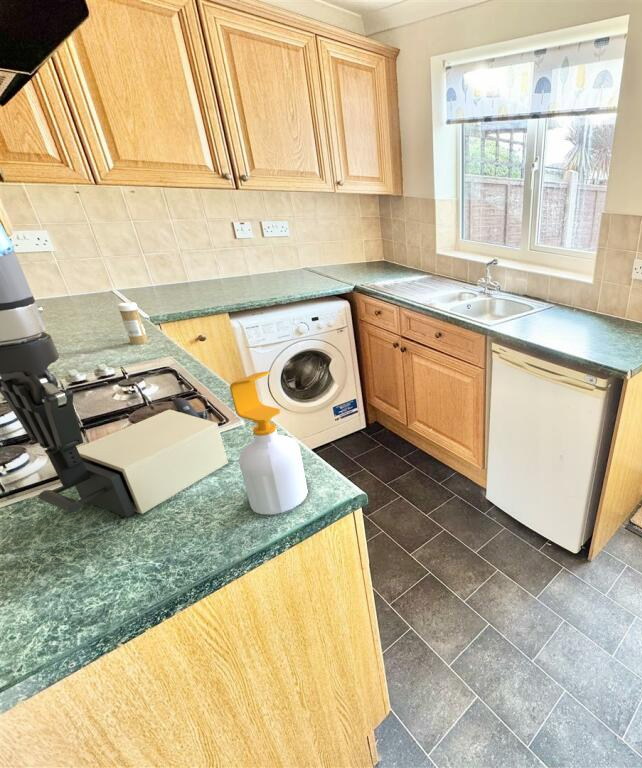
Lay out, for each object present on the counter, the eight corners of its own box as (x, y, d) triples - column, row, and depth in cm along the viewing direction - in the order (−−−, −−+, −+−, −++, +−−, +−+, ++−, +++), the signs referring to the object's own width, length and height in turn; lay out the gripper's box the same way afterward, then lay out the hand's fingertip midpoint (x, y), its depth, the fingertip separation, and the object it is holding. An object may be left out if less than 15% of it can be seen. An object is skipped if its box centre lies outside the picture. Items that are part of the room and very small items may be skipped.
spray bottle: (280, 522, 70) (250, 390, 59) (238, 508, 72) (202, 379, 62) (319, 490, 77) (298, 368, 67) (280, 478, 80) (254, 359, 70)
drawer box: (142, 516, 69) (123, 469, 65) (92, 496, 73) (71, 450, 69) (228, 464, 83) (217, 422, 79) (182, 450, 86) (169, 409, 82)
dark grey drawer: (90, 539, 63) (70, 498, 60) (42, 518, 66) (21, 478, 63) (212, 468, 80) (201, 433, 77) (169, 454, 83) (158, 420, 80)
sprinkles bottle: (152, 342, 138) (139, 302, 133) (142, 346, 134) (129, 305, 129) (137, 341, 138) (123, 301, 132) (127, 346, 134) (112, 305, 128)
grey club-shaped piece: (217, 436, 91) (211, 414, 89) (177, 447, 87) (170, 424, 84) (200, 405, 103) (194, 385, 100) (165, 414, 98) (158, 392, 96)
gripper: (75, 337, 56) (132, 478, 66) (16, 323, 60) (78, 459, 70) (-2, 354, 50) (74, 508, 60) (-63, 338, 54) (18, 485, 63)
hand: (76, 481), depth 65 cm, fingers closed
